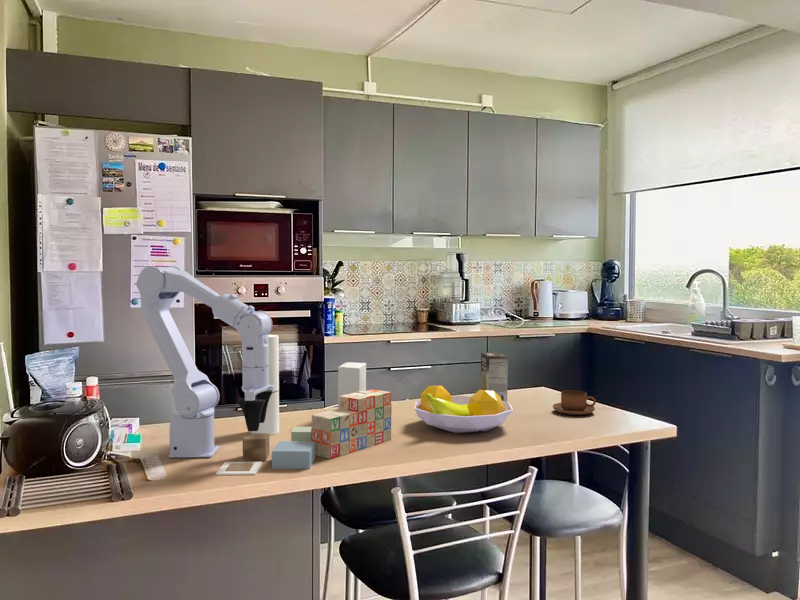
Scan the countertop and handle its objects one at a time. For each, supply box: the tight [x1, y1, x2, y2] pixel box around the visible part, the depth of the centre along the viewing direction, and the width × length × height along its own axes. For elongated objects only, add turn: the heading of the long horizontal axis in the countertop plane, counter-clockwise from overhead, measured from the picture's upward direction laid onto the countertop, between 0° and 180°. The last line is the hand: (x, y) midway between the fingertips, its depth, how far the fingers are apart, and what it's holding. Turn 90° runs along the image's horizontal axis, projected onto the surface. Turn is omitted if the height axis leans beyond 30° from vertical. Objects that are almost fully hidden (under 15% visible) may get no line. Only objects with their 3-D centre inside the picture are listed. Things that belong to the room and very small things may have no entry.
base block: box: [271, 440, 316, 470], centre depth 142 cm, size 8×8×4 cm
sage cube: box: [290, 426, 312, 441], centre depth 152 cm, size 5×5×5 cm
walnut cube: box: [242, 433, 270, 462], centre depth 145 cm, size 5×5×5 cm
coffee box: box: [480, 351, 509, 403], centre depth 201 cm, size 9×6×16 cm
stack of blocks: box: [311, 389, 393, 460], centre depth 154 cm, size 21×6×12 cm, turn 141°
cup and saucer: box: [552, 389, 597, 416], centre depth 192 cm, size 12×12×6 cm
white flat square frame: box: [215, 461, 263, 476], centre depth 138 cm, size 8×8×1 cm
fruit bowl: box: [413, 385, 514, 434], centre depth 174 cm, size 28×27×11 cm
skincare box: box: [337, 361, 367, 409], centre depth 183 cm, size 8×7×16 cm
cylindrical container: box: [250, 334, 280, 436], centre depth 168 cm, size 7×7×25 cm
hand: (256, 426), depth 145 cm, fingers open, 7 cm apart
